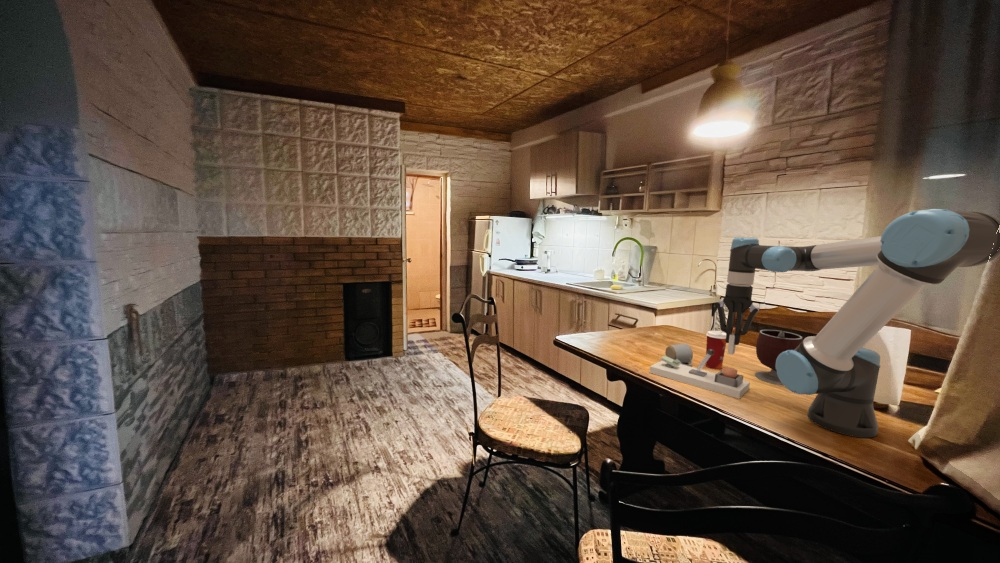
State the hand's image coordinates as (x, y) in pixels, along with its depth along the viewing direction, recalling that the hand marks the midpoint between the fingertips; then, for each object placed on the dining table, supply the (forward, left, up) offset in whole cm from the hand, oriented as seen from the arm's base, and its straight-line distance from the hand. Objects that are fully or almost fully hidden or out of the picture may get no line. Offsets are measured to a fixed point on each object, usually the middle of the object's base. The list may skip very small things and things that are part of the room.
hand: (731, 353), depth 135 cm
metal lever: (+10, 0, -9) cm, 13 cm away
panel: (+10, 0, -13) cm, 16 cm away
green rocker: (+20, 0, -9) cm, 22 cm away
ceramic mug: (+21, -14, -13) cm, 29 cm away
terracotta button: (0, 0, -8) cm, 8 cm away
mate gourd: (-9, -24, -13) cm, 29 cm away
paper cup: (+11, -21, -13) cm, 27 cm away
